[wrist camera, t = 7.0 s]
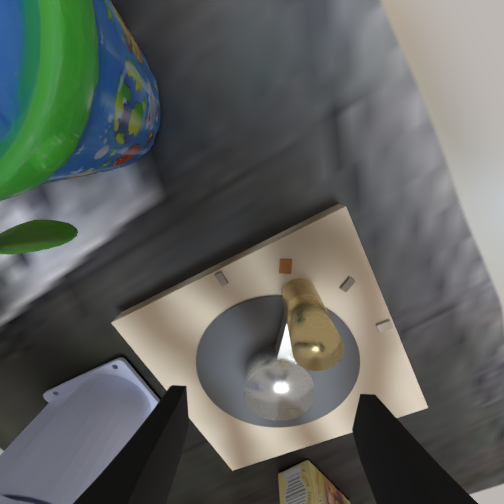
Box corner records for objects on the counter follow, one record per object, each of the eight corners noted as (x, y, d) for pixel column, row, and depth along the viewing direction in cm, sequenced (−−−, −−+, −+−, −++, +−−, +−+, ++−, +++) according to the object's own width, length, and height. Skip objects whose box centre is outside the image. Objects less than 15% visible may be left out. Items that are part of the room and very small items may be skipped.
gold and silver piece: (300, 398, 19) (315, 485, 14) (240, 388, 19) (233, 472, 14) (338, 284, 16) (378, 339, 11) (267, 270, 16) (271, 319, 10)
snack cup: (29, -102, 12) (-969, -1303, 2) (224, -12, 13) (115, -595, 3) (15, 192, 17) (-327, 217, 7) (158, 244, 17) (33, 329, 8)
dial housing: (234, 453, 24) (232, 472, 23) (121, 311, 19) (109, 324, 18) (416, 392, 21) (429, 410, 19) (338, 203, 16) (347, 206, 14)
